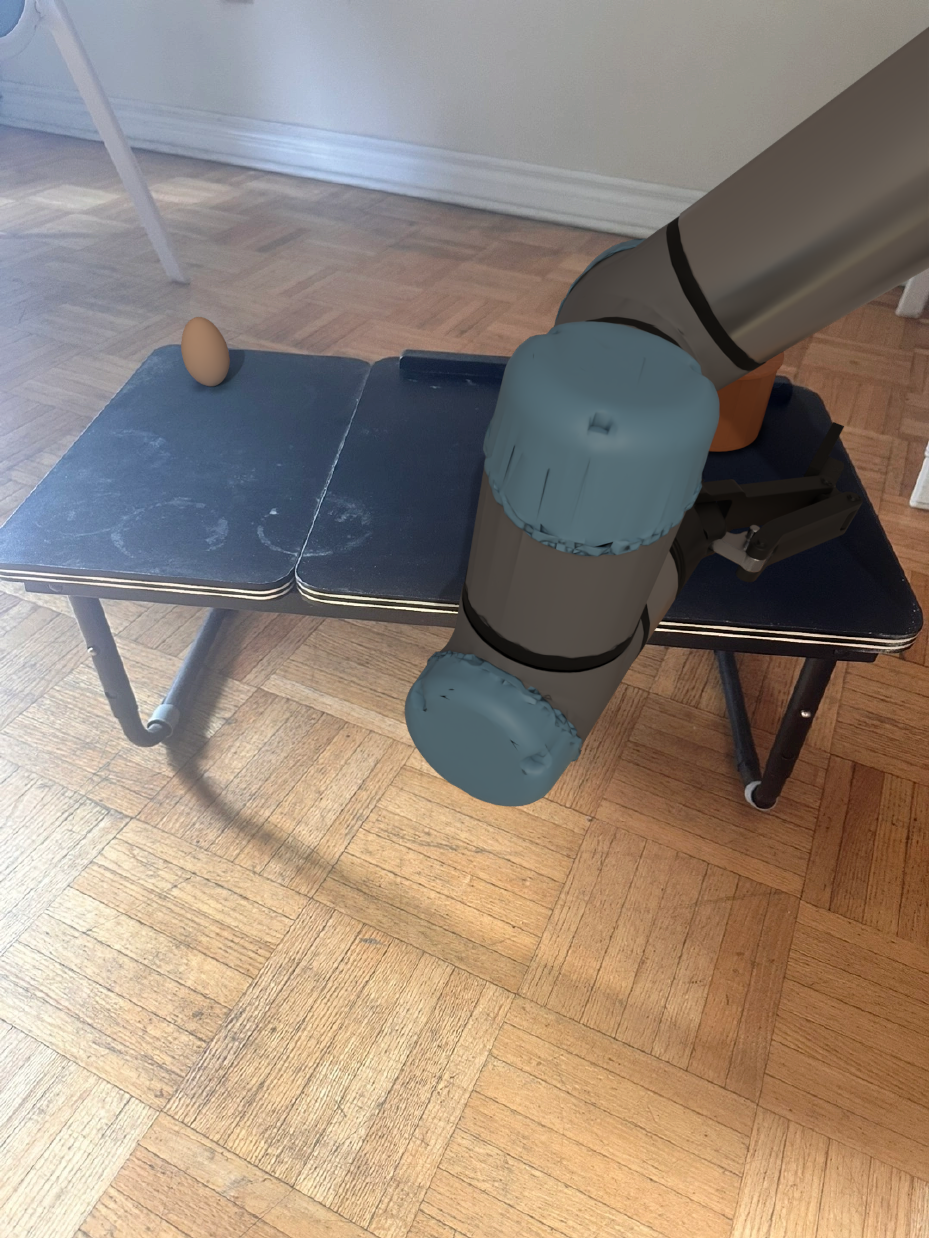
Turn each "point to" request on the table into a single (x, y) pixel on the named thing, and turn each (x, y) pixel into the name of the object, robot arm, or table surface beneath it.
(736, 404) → the pot
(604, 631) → the robot arm
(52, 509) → the table surface
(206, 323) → the egg
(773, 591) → the table surface
